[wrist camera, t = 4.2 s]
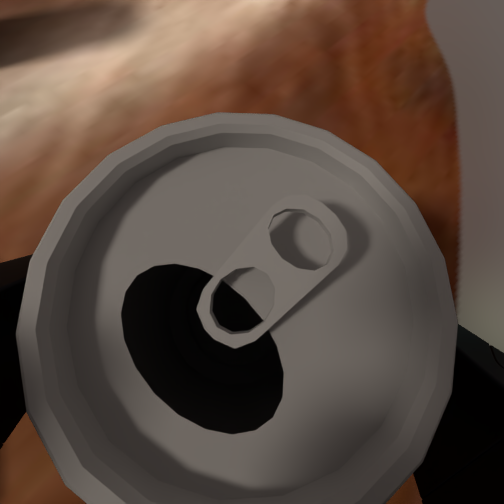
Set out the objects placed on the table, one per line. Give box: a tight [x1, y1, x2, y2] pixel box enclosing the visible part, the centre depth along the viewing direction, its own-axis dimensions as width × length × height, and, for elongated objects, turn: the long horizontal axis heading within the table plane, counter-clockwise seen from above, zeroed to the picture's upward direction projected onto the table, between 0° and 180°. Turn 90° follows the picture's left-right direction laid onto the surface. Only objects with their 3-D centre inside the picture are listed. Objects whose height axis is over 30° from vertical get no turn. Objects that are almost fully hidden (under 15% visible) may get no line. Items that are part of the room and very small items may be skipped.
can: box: [16, 112, 458, 504], centre depth 9 cm, size 8×8×12 cm
